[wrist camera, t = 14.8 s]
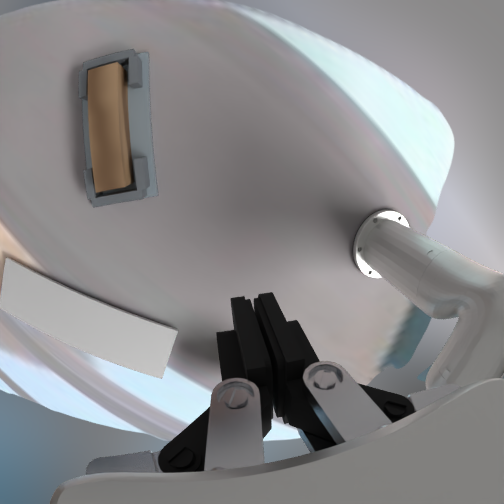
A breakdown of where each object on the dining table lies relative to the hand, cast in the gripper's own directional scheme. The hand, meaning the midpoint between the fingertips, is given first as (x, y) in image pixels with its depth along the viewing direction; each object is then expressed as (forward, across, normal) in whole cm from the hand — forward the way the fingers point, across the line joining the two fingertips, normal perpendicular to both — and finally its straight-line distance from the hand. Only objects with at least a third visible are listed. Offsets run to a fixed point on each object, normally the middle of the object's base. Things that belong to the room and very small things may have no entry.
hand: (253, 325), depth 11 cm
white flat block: (+30, +26, +17) cm, 43 cm away
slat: (+28, +13, -12) cm, 33 cm away
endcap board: (+29, +13, -12) cm, 34 cm away
